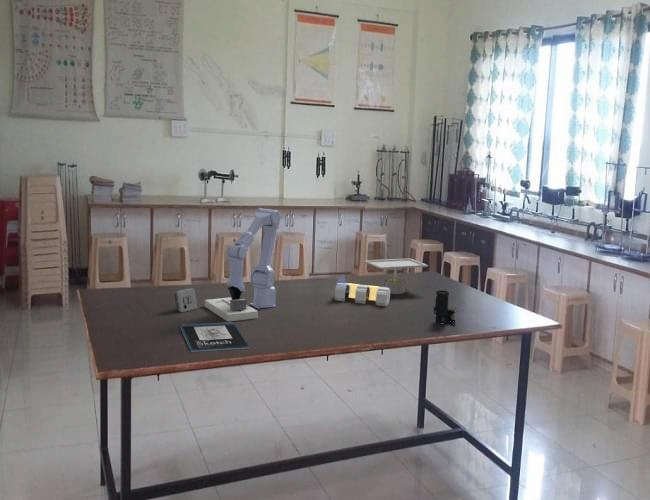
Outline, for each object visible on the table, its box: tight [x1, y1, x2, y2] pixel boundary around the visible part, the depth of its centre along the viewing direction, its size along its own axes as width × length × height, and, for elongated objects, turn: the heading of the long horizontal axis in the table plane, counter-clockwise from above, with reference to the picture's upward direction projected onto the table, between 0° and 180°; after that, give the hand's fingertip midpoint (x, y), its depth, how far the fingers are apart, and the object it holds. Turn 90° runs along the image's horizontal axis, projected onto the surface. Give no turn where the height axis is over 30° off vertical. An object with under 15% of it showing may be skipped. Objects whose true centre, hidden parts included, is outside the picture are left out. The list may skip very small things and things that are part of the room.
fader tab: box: [230, 298, 247, 311], centre depth 287 cm, size 6×3×4 cm, turn 122°
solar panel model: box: [363, 257, 429, 295], centre depth 346 cm, size 28×17×15 cm, turn 115°
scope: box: [433, 289, 458, 324], centre depth 294 cm, size 8×14×10 cm
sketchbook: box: [180, 321, 251, 353], centre depth 259 cm, size 22×30×2 cm
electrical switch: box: [173, 287, 198, 313], centre depth 293 cm, size 9×5×9 cm, turn 141°
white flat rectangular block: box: [204, 296, 259, 323], centre depth 294 cm, size 14×25×3 cm, turn 32°
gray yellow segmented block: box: [334, 274, 391, 307], centre depth 323 cm, size 25×10×13 cm, turn 75°
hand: (235, 303), depth 289 cm, fingers closed
